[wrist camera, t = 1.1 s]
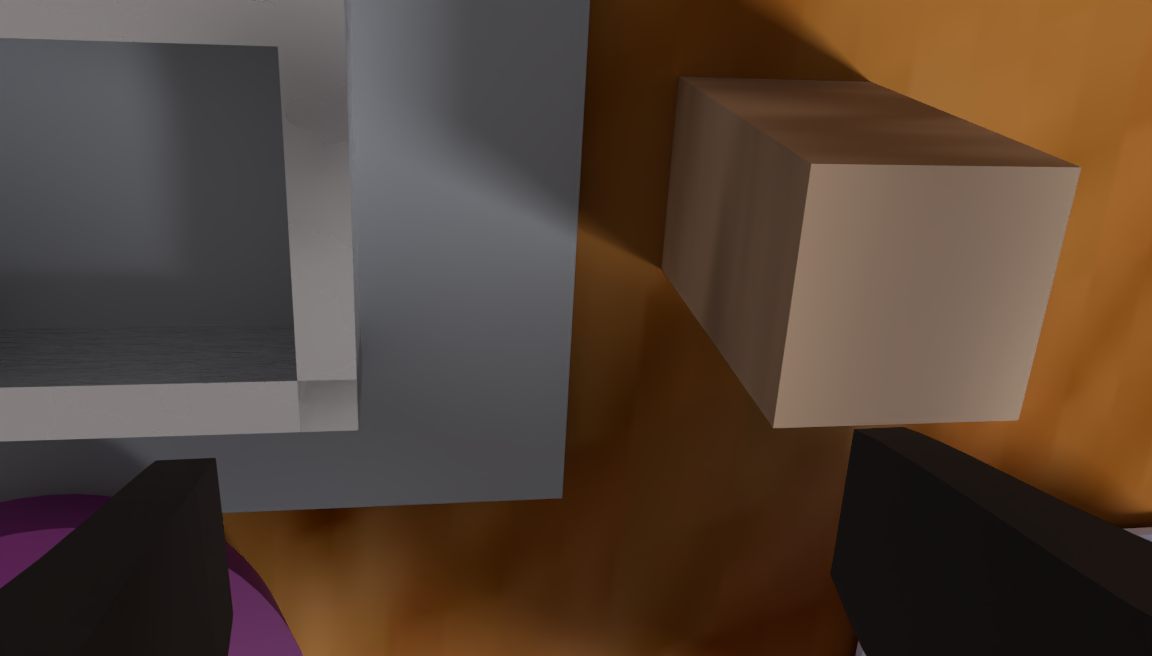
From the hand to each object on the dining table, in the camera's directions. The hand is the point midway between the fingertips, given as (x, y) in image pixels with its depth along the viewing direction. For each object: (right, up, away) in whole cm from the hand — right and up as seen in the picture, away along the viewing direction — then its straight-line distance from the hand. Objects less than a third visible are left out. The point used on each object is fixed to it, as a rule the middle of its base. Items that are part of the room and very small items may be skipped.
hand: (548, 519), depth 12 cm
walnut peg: (+4, +5, +10) cm, 12 cm away
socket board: (-8, +5, +7) cm, 12 cm away
